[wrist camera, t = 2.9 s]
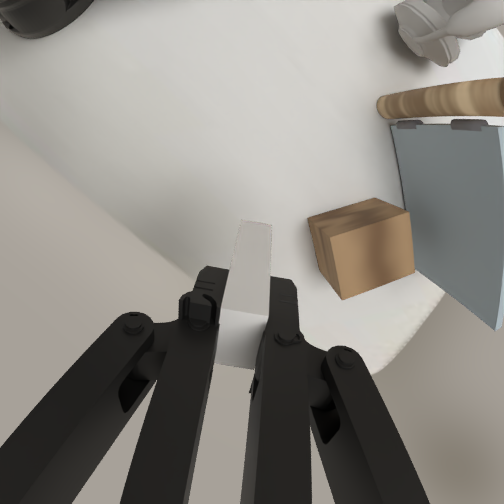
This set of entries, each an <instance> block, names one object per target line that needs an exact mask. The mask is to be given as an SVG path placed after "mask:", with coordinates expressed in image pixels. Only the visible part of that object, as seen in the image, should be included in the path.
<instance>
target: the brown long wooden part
mask: <svg viewBox="0 0 504 504" xmlns="http://www.w3.org/2000/svg"><path fill="white" fill-rule="evenodd" d="M377 109H378V112H379V114H380V115H381V116H382V117H383V118H386V119H397V118H413V117H436V116H498V117H504V77H503V78H491V79H482V80H473V81H465V82H458V83H451V84H444V85H438V86H431V87H426V88H420V89H414V90H409V91H404V92H399V93H394V94H389V95H385V96H382V97H380V98H379V100H378V102H377Z"/></svg>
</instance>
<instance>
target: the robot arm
mask: <svg viewBox="0 0 504 504" xmlns="http://www.w3.org/2000/svg"><path fill="white" fill-rule="evenodd" d="M92 1H93V0H0V19H1V20H2V22H3V24H4V25H5V27H6V28H7V29H8V30H9V31H11V32H12V33H15V34H17V35H19V36H21V37H24V38H39V37H43V36H47V35H49V34H52V33H54V32H56V31H58V30H60V29H61V28H63V27H65V26H66V25H68V24H69V23H71V22H72V21H73V20H74V19H76V18H77V17H78V16H79V15H80V14H81V13H82V12H83V11H84V10H85V9H86V8H87V7H88V6H89V5H90V4H91V3H92ZM271 241H272V225H269V224H263V223H258V222H252V221H246V220H241V223H240V228H239V232H238V236H237V240H236V244H235V249H234V253H233V257H232V261H231V266H230V270H228V269H222V268H217V267H211V266H206V267H205V268H204V269H202V270H201V271H200V272H199V274H198V277H197V280H196V283H195V285H194V288H193V291H191V292H187V293H186V294H184V295H182V296H181V298H180V299H179V317H178V319H177V320H175V321H172V322H166V323H153V321H152V320H151V318H150V317H149V316H147V315H146V314H144V313H140V312H129V313H125V314H122V315H121V316H119V317H118V318H117V319H116V320H115V321H114V322H113V323H112V324H111V325H110V326H109V327H108V328H107V329H106V330H105V331H104V332H103V333H102V334H101V335H100V336H99V338H98V339H97V340H96V341H95V342H94V343H93V344H92V345H91V346H90V347H89V348H88V349H87V350H86V351H85V352H84V353H83V354H82V356H81V357H80V358H79V359H78V360H77V361H76V362H75V363H74V364H73V365H72V366H71V367H70V368H69V370H68V371H67V372H66V373H65V374H64V375H63V376H62V377H61V378H60V379H59V381H58V382H57V383H56V384H55V385H54V386H53V387H52V388H51V389H50V391H49V392H48V393H47V394H46V395H45V396H44V397H43V398H42V400H41V401H40V402H39V403H38V404H37V405H36V406H35V407H34V409H33V410H32V411H31V412H30V413H29V415H28V416H27V417H26V418H25V419H24V420H23V421H22V423H21V424H20V425H19V426H18V427H17V429H16V430H15V431H14V432H13V433H12V434H11V435H10V437H9V438H8V439H7V440H6V441H5V443H4V444H3V445H2V446H1V448H0V504H72V502H73V501H74V499H75V498H76V496H77V495H78V493H79V492H80V491H81V489H82V488H83V486H84V485H85V483H86V482H87V480H88V479H89V477H90V476H91V475H92V473H93V472H94V470H95V469H96V467H97V465H98V464H99V463H100V461H101V460H102V459H103V457H104V456H105V454H106V453H107V451H108V450H109V448H110V447H111V446H112V444H113V443H114V441H115V439H116V438H117V437H118V435H119V434H120V432H121V431H122V429H123V428H124V427H125V425H126V424H127V422H128V421H129V419H130V418H131V417H132V415H133V414H134V412H135V411H136V409H137V408H138V406H139V405H140V403H141V402H142V401H143V399H144V398H145V396H146V395H147V393H148V392H149V390H150V389H151V388H152V386H153V384H154V383H155V382H156V380H157V383H156V386H155V389H154V392H153V395H152V398H151V401H150V404H149V407H148V410H147V413H146V416H145V420H144V423H143V426H142V429H141V432H140V436H139V439H138V442H137V445H136V449H135V453H134V455H133V459H132V462H131V466H130V469H129V472H128V476H127V480H126V483H125V487H124V490H123V494H122V497H121V501H120V504H188V500H189V495H190V489H191V483H192V478H193V473H194V467H195V462H196V456H197V451H198V446H199V440H200V435H201V430H202V425H203V420H204V414H205V409H206V404H207V399H208V393H209V388H210V383H211V378H212V372H213V365H214V363H217V364H222V365H228V366H234V367H240V368H246V369H253V370H254V368H255V374H254V378H253V381H252V384H251V388H250V391H249V393H251V400H250V412H249V422H248V432H247V442H246V453H245V462H244V473H243V482H242V492H241V502H240V504H312V482H311V444H310V443H311V442H310V427H311V430H312V433H313V436H314V439H315V442H316V445H317V448H318V452H319V455H320V458H321V461H322V464H323V467H324V470H325V473H326V477H327V480H328V483H329V486H330V489H331V492H332V495H333V499H334V502H335V504H430V503H429V500H428V498H427V496H426V493H425V491H424V488H423V486H422V484H421V482H420V479H419V477H418V475H417V472H416V470H415V468H414V466H413V463H412V461H411V459H410V457H409V454H408V452H407V450H406V448H405V446H404V443H403V441H402V439H401V437H400V435H399V433H398V431H397V428H396V427H395V424H394V422H393V420H392V418H391V416H390V414H389V412H388V410H387V407H386V405H385V403H384V401H383V399H382V397H381V395H380V393H379V391H378V389H377V387H376V385H375V383H374V381H373V379H372V377H371V375H370V373H369V371H368V369H367V367H366V365H365V363H364V361H363V359H362V357H361V356H360V355H359V354H358V352H356V351H355V350H353V349H352V348H349V347H346V346H335V347H332V348H330V349H329V350H328V351H324V350H321V349H319V348H316V347H314V346H312V345H310V344H309V343H308V342H306V341H305V339H304V336H303V334H302V333H301V332H300V329H299V313H298V299H297V288H296V286H295V285H294V283H293V282H292V280H290V279H284V278H278V277H273V276H270V270H271Z"/></svg>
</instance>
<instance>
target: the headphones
mask: <svg viewBox="0 0 504 504" xmlns="http://www.w3.org/2000/svg"><path fill="white" fill-rule="evenodd" d="M394 9H395V14H396V17H397V20H398V23H399V29H398V31H399V34H400V36H401V38H402V39H403V41H404V42H405V43H406V45H407V46H408V47H409V48H410V49H411V50H412V51H413V52H414V53H415V54H416V55H418V56H419V57H426V58H428V59H430V60H431V61H433V62H435V63H436V64H438V65H439V66H443V67H447V66H448V64H449V63H452V62H453V61H455V60H456V59H458V56H459V53H460V49H459V45H458V42H457V39H456V37H457V38H461V39H467V40H472V39H475V38H478V37H481V36H482V35H483V34H484V33H485V32H486V30H490V29H493V28H496V27H498V26H501V25H503V24H504V0H426V3H425V2H424V1H423V0H405V1H403V2H402V3H399V4H398V5H396V6H394Z"/></svg>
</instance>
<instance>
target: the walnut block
mask: <svg viewBox="0 0 504 504" xmlns="http://www.w3.org/2000/svg"><path fill="white" fill-rule="evenodd" d="M307 219H308V223H309V227H310V231H311V235H312V239H313V244H314V248H315V252H316V257H317V261H318V266H319V270H320V272H321V273H322V275H323V276H324V277H325V279H326V280H327V281H328V282H329V284H330V285H331V286H332V288H333V289H334V290H335V292H336V293H337V294H338V296H339V297H340V298H341V300H344V299H347V298H350V297H353V296H355V295H358V294H361V293H364V292H366V291H369V290H372V289H374V288H377V287H380V286H382V285H385V284H387V283H390V282H392V281H395V280H398V279H400V278H403V277H405V276H408V275H410V274H412V273H415V267H414V253H413V241H412V231H411V222H410V214H409V212H408V211H406V210H404V209H401V208H399V207H397V206H394V205H392V204H389V203H387V202H384V201H382V200H379V199H377V198H372V199H369V200H365V201H362V202H359V203H355V204H352V205H348V206H345V207H342V208H339V209H335V210H332V211H329V212H325V213H322V214H319V215H315V216H312V217H309V218H307Z"/></svg>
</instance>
